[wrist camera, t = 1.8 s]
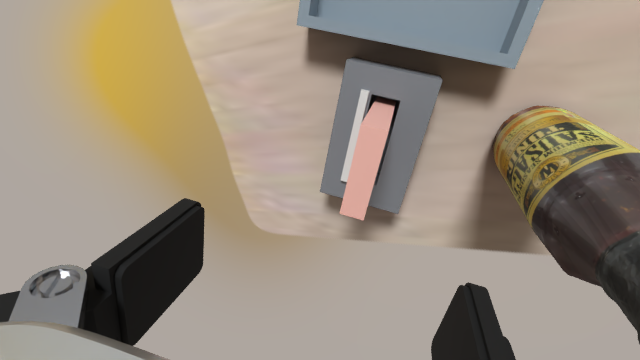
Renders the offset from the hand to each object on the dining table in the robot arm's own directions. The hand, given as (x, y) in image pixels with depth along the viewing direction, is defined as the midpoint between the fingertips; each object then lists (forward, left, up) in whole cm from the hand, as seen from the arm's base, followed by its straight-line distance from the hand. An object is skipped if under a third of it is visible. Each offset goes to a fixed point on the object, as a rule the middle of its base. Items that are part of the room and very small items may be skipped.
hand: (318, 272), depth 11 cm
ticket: (0, 0, -19) cm, 19 cm away
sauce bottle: (-12, -2, -20) cm, 23 cm away
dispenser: (0, 0, -20) cm, 20 cm away
